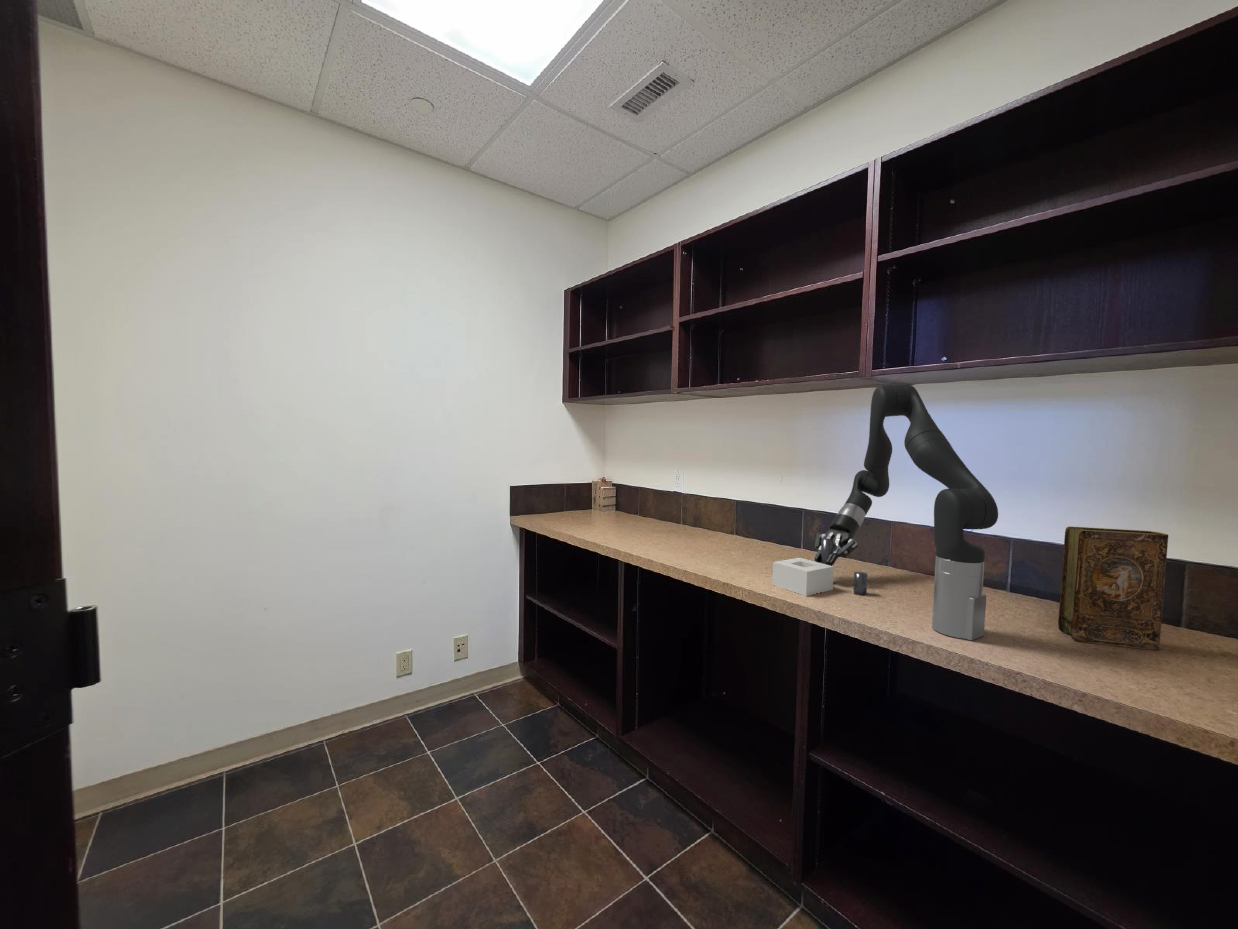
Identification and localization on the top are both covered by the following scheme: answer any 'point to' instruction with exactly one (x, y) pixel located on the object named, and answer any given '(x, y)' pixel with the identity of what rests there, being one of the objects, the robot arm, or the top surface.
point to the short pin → (860, 583)
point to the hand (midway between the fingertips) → (822, 563)
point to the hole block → (803, 576)
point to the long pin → (826, 549)
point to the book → (1113, 586)
